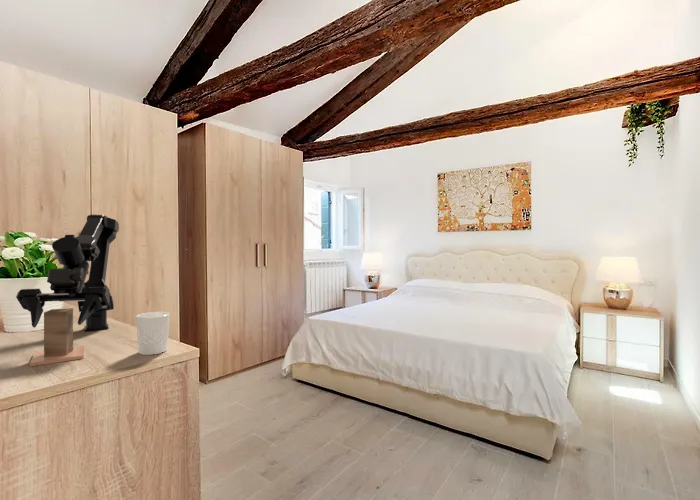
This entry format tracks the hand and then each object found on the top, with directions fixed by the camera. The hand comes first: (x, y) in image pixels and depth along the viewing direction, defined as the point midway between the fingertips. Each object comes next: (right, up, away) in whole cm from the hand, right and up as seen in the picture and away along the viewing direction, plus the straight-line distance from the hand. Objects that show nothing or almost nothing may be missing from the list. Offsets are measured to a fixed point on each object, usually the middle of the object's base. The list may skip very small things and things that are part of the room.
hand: (56, 325), depth 88 cm
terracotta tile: (-1, -8, +1) cm, 8 cm away
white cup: (+20, -9, +7) cm, 23 cm away
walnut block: (-1, -8, +1) cm, 8 cm away
